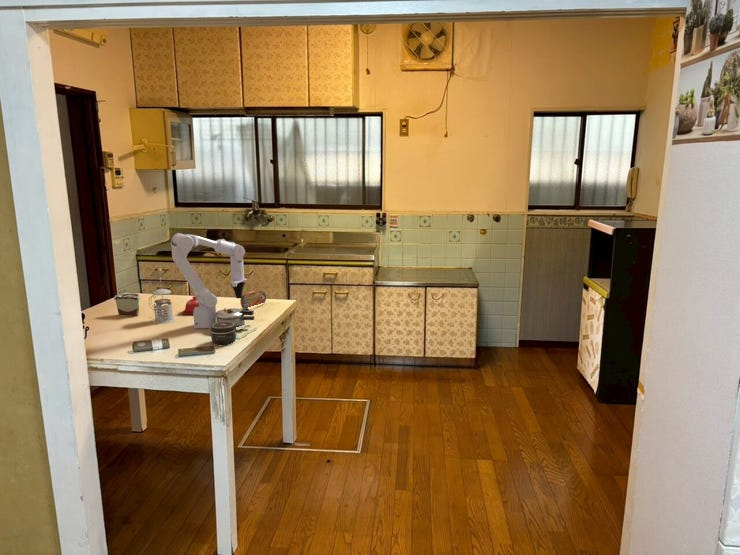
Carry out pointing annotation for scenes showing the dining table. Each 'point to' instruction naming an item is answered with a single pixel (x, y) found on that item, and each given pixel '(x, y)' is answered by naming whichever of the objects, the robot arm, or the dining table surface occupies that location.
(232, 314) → the cooker lid
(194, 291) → the robot arm
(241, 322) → the cooker pot
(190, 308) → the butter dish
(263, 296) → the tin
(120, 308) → the food container
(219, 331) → the jar
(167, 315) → the french press
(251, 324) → the dining table surface
